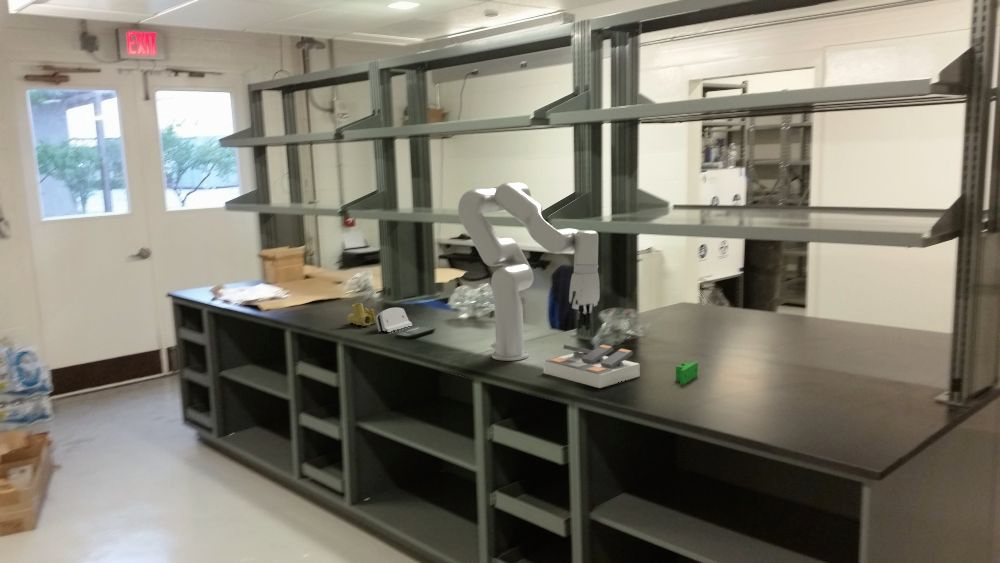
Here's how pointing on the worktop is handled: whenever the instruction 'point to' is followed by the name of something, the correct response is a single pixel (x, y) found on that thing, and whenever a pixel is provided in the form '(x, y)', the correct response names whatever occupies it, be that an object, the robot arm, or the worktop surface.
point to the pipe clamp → (686, 372)
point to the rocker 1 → (577, 349)
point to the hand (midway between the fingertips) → (584, 324)
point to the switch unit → (590, 370)
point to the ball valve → (361, 315)
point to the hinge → (392, 319)
